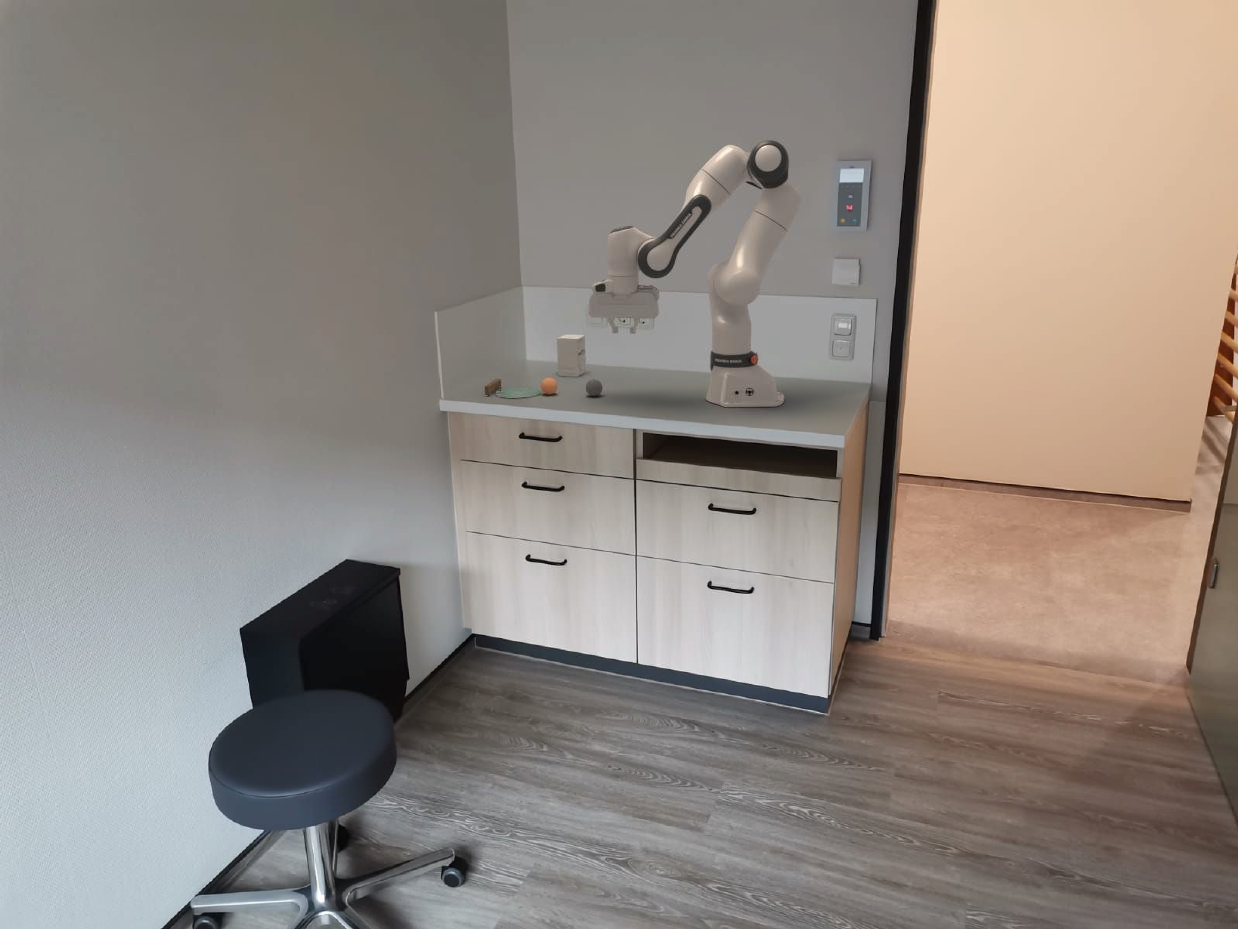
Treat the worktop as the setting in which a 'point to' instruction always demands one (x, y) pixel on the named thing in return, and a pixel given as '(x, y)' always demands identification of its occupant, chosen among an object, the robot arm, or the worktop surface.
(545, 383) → the object ball
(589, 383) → the dark gray ball
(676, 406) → the worktop surface
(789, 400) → the worktop surface
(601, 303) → the robot arm
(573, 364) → the supplement box
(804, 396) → the worktop surface
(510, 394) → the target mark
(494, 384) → the stopper bar
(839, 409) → the worktop surface
